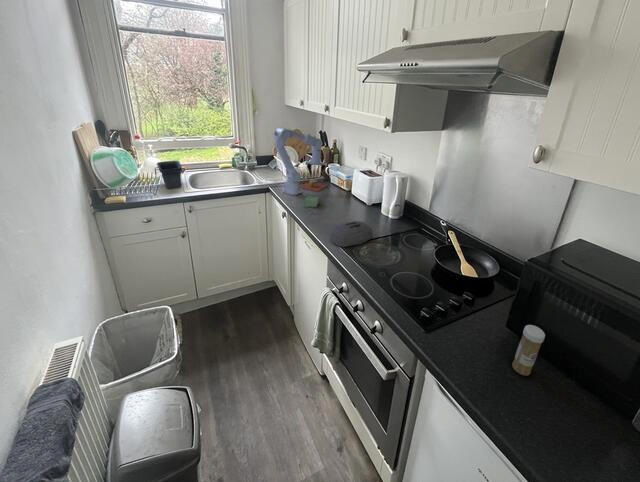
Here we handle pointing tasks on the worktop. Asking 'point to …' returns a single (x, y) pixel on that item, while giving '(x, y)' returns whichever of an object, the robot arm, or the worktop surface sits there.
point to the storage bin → (170, 173)
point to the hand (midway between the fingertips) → (316, 175)
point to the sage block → (311, 201)
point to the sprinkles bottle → (528, 349)
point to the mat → (318, 188)
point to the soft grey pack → (351, 233)
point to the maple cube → (313, 183)
